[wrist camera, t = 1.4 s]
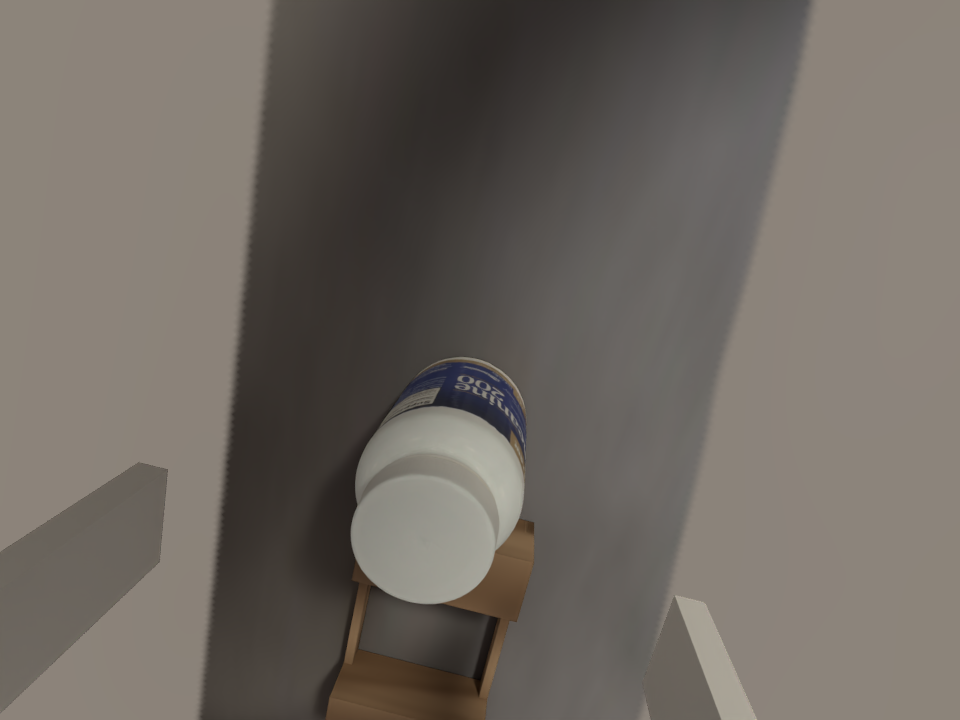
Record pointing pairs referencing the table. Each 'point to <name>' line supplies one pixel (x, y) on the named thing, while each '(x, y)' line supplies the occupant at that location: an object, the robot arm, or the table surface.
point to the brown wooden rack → (419, 689)
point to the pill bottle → (441, 482)
